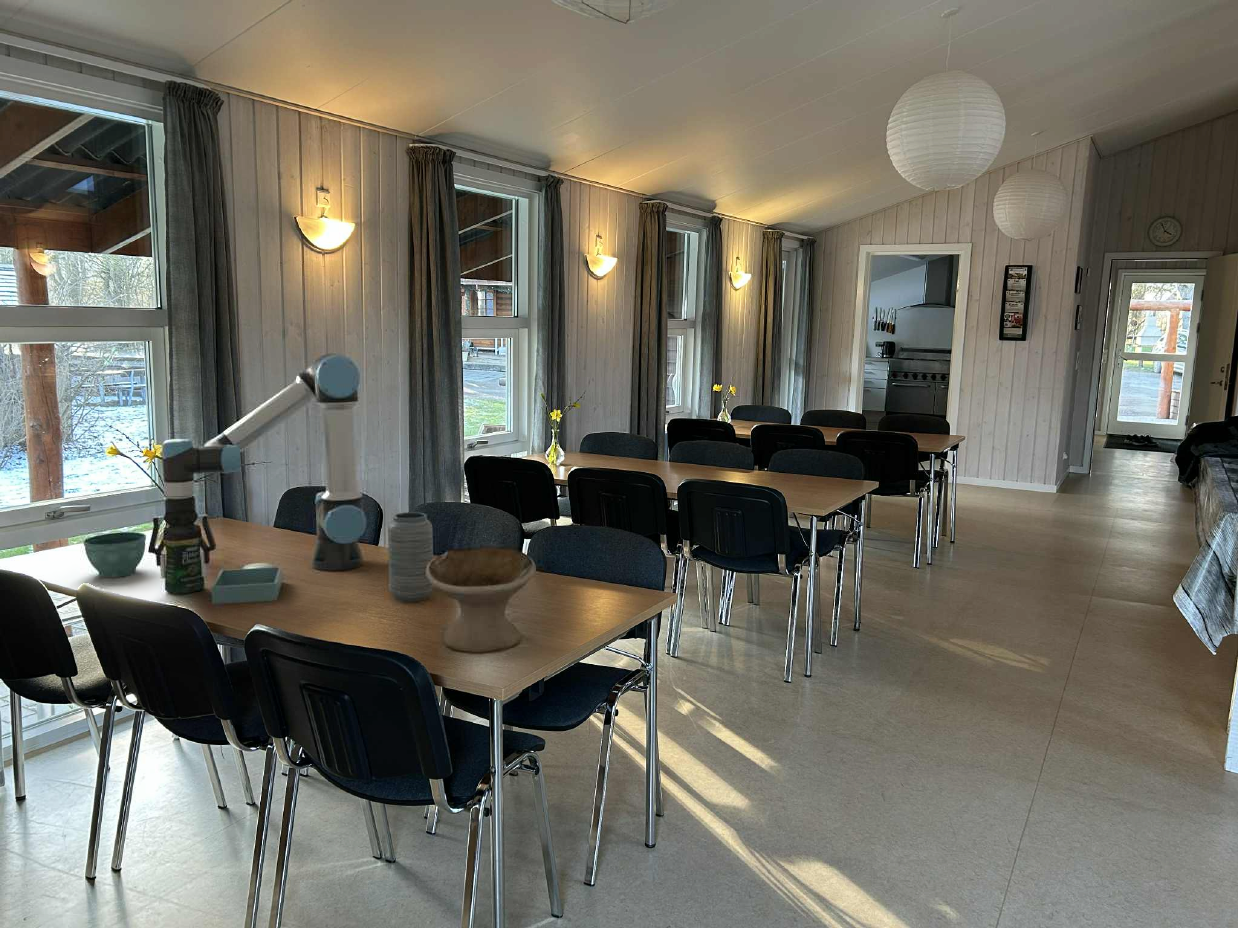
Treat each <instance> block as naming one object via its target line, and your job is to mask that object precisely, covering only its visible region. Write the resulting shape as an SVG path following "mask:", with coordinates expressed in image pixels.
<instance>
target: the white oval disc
mask: <svg viewBox="0 0 1238 928" xmlns="http://www.w3.org/2000/svg"><path fill="white" fill-rule="evenodd" d="M268 567H274V566H273V564H272V563H268V562H266V563H265V562H259V563H258V562H256V563H250V564H246V565H244V566H243V567H242V569H249V568H268Z"/></svg>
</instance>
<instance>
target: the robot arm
mask: <svg viewBox="0 0 1238 928" xmlns="http://www.w3.org/2000/svg"><path fill="white" fill-rule="evenodd" d="M360 381H361V375H360V371H359V369H358V367H357V365H356V363H355V362H354V361H353V360H352V359H350V358H349V357H347V356H346V355H342V354H336V353H327V354H323V355H321V356H320V357H318V358H316V359H315V360H314V361H313V362H312V363H311V364H310V365H308V366H307V368H305V369H304V370H303V371H302V372H300V373H298V374H297V375H296V379H295V380H294V382H292V383H291V384H289V385H287V386H286V387H285V388H284V389H282V390H280V391H279V392H277V394H275V395H273V396H272V397H271V398H269V399H268V400H266V401H265V402H264V403H262V404H261V405H259V406H258V407H257V408H255V409H254V410H253V411H251V412H249V413H248V414H246V415H245V416H244V417H242V418H241V419H240V420H239V421H237V422H235V423H234V424H233V425H231V426H230V427H228V428H227V429H226V430H224V431H223V432H222V433H220V434H218V435H216V437H214V438H211V439H209V440H208V441H206V442H205V443H204V444H203V446H202V445H201V446H197V445H194V444H193V441H192V439H189V438H184V439H183V438H174V439H173V438H171V439H167V440H165V441H163V443H162V445H161V446H162V447H161V449H162V450H161V453H162V454H161V456H162V457H161V459H162V472H163V473H162V474H163V493H164V494H163V495H164V496H165V498H164V507H165V508H164V510H165V511H164V513H165V514H164V515H162V516H159V515H155V516H154V517H153V519H152V523H153V528H152V532H151V537H150V540H149V545H148V549H147V552H148V553H149V554H154V555H155V560H156V561H155V563H156V564H155V565H156V567H160V576H161V577H160V578H161V579H165V574H166V552H163V551H164V549H165V548H166V547H165V545H164V543H163V538H162V539H161V541H160V543H159V545H158V547H156V546H157V540H158V537H159V532H160V530H161V529H160V527H161V525H162V524H163V522H165V523H166V524H167V525H168V527H169V528H171V527H175V526H183V527H187V528H188V529H191V530H194V528H193V526H192V525H193V524H196V521H197V520H199V523H201V524H202V527H203V530H204V534H205V536H206V539H207V541H205V539H204V538H203V536H202V538H201V537H199V545H200V549H201V550H202V551H200V556H201V568H202V576H204V577H206V575H207V565H208V564H209V563H210V560H211V559H210V557H211V556H210V552H213V551H215V550H216V548H217V544H216V539H215V538H214V535H213V532H212V531H213V530H212V529H211V527H210V525H211V524H210V523H209V520H210V519H209V518H210V517H209V514H207V513H206V514H198V512H197V508H196V505H197V504H196V496H194V495H195V493H196V489H195V474H197V475H200V474H220V473H223V474H225V473H226V474H229V473H236V472H239V471H241V469H242V467H241V465H242V464H241V463H242V462H241V453H242V452H243V451H245V450H246V449H247V448H249V447H251V446H252V445H253V444H254V443H256V442H258V441H259V440H260V439H262V437H264V436H266V435H268V433H270V432H272V431H273V430H274V429H276V428H277V427H279V426H280V425H281V424H283V423H284V422H285V421H287V420H289V419H290V418H291V417H293V416H294V415H295V414H296V413H298V412H300V411H301V410H302V409H304V408H305V407H307V406H308V405H309V404H311V403H313V402H315V403H316V405H318V406H319V408H320V409H321V415H322V416H321V419H322V434H323V436H322V437H323V455H324V456H323V457H324V473H325V475H324V477H325V491H321V492H318V493H316V495H315V501H314V504H315V513H316V517H315V518H316V519H315V521H316V543H315V544H316V545H315V548H314V549H313V550H314V551H313V554H312V557H311V567H312V568H313V569H316V570H319V571H328V572H329V571H345V570H351V569H355V568H359V567H361V566H363V564H364V555H363V552H362V550H361V548H360V547H361V546H360V544H359V542H358V539H359V538H361V536H362V535H363V534H364V533H365V530H366V528H367V518H366V514H365V512H364V503H363V501H364V499H363V497H364V496H363V493H362V492H361V491H360V490H358V487H357V467H356V466H357V463H356V461H357V460H356V446H355V445H356V442H355V441H356V440H355V422H354V420H355V419H354V407H355V406H356V405H357V404H358V403H359V390H358V389H359V388H358V387H359V384H360Z"/></svg>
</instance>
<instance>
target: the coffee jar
mask: <svg viewBox="0 0 1238 928" xmlns="http://www.w3.org/2000/svg"><path fill="white" fill-rule="evenodd" d="M192 526H193V528H194V530H191V529H188V528H187V527H183V526H175V527H171V528H169V526H166V527H164V529H163V532H162V535H163V537H162V539H163V543H164V545H165V547H164V548H165V559H166V574H165V578H164V590H165V591H166V592H167V593H168V594H170V595H174V594H175V595H185V594H189V593H193V592H197V591H201V590H203V589H204V587H205V579H204V578H205V576H202V568H201V547H200V545H199V537H201V538H202V537H203V533H202V528H201V526H200V525H199V524H197V523H194V524H193V525H192Z"/></svg>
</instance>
